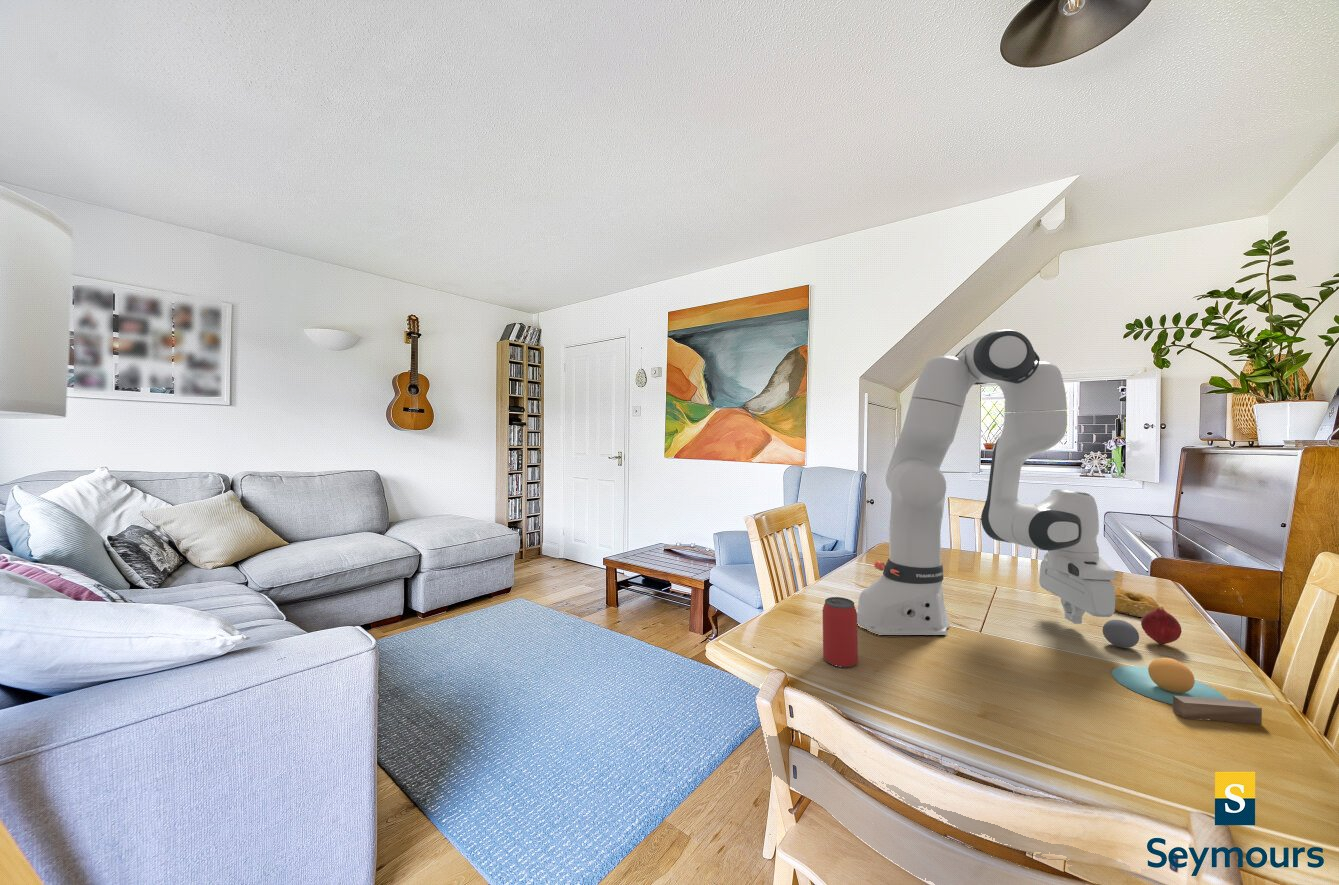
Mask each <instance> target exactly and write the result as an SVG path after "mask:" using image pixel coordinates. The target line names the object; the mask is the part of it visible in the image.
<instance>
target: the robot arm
mask: <svg viewBox="0 0 1339 885" xmlns="http://www.w3.org/2000/svg"><path fill="white" fill-rule="evenodd" d="M986 384H996V385H997V386H998V387H999V389H1000V390H1001V392H1002V395H1003V398H1004V421H1003V426H1002V427H1003V428H1002V431H1001V434H1000V436H999V438H998V439H997V440H996V441H995V443H994V446H993V450H992V451H993V452H992V457H991V464H990V472H989V478H988V486H987V487H988V488H987V495H986V500H985V502H984V505H983V508H982V511H981V515H980V522H981V526H982V528H983V530H984V532H985V534H986V535H987V536H988V537H989V538H991V539H992V540H993V541H994V540H995V541H1000V542H1005V543H1010V544H1011V543H1012V544H1015V545H1019V546H1023V547H1026V548H1031V549H1036V550H1039V551H1046V554H1044V555H1043V556H1044V557H1043V559H1042V560H1041V561H1040V565H1039V566H1040V567H1039V574H1038V575H1039V578H1038V581H1039V585H1040V587H1041V588H1042V589H1043V590H1045V591H1047V592H1048V593H1051V594H1053V595H1054V596H1056V597H1058V598H1059V599H1060V603H1061V607H1062V609H1063V611H1064V619H1066V620H1067V621H1069V622H1071V623H1072V624H1076V625H1081V624H1083V623H1082V622H1083V616H1084V614H1085V613H1087V614H1089V615H1091V616H1092V617H1097V618H1099V617H1100V618H1111V617H1112V616H1113V615H1114V613H1115V612H1116V611H1115V589H1116V588H1115V585H1114V583H1113V581H1115V580H1116V579H1117V572H1116V571H1115V569H1114V568H1112V567H1111V566H1110V565H1109V564H1108V563H1107V562H1106V561H1105V560H1104V559H1103V558H1102V557H1101V556H1100V549H1099V545H1098V543H1097V537H1098V534H1099V531H1100V529H1099V528H1100V527H1099V526H1100V523H1099V522H1100V520H1099V511H1098V506H1097V503H1096V499H1095V497H1094V496H1093V495H1091V494H1090V493H1087V492H1081V491H1076V490H1075V491H1074V490H1070V489H1069V490H1068V489H1062V488H1061V489H1060V488H1059V489H1053V490H1051V492H1050V494H1049V496H1047V498H1044V500H1041V501H1039V502H1037V503H1034V504H1027V503H1023V502H1020V501H1019V499H1018V494H1019V491H1018V490H1019V485H1020V477H1021V469H1022V466H1023V465H1024V464H1025V462H1026V461H1027V460H1029V459H1030V458H1031V457H1033V456H1035V455H1038V454H1041V453H1043V452H1045V451H1048V450H1050V449H1051V448H1053V447H1055V446H1056V445H1057V444H1058V443H1060V441H1061V440H1062V439H1063V438H1064V437H1065V434H1066V431H1067V426H1068V411H1067V410H1068V406H1067V405H1068V404H1067V395H1066V394H1067V393H1066V387H1065V383H1064V379H1063V376H1062V373H1061V370H1060V368H1059V367H1058V366H1057V365H1055V364H1053V363H1052V362H1051V363H1050V362H1047V361H1040V356H1039V355H1038V354H1037V352H1036V351H1035V349H1034V347H1033V345H1032V343H1031V341H1030V340H1029V338H1027V336H1025V335H1024V334H1023V333H1021V332H1019V331H1017V330H1013V329H999V330H994V331H992V332H989V333H988V334H987V333H986V334H984V335H980V336H979V337H977V338H975V339H974V340H972V341H971V342H969V343H968V344H966V345H965V346H964V347H963V348H962V349H960V350H959V351H958V353H956V355H954V356H951V355H941V356H935V357H933V358H930V359H929V360H928V361H927V362H925V364H924V366H923V369H922V370H921V373H920V374H919V376H918V378H917V380H916V383H915V386H914V388H913V391H912V395H911V398H910V401H909V405H908V408H907V411H906V415H905V419H904V422H903V426H902V429H901V432H900V434H899V438H898V440H897V442H896V444H895V447H894V450H893V453H892V456H891V459H890V460H889V464H888V468H887V471H886V474H885V484H886V486H887V489H888V490H889V492H891V494H890V495H891V498H890V499H891V500H890V502H891V503H890V505H891V506H890V515H889V516H890V518H889V525H888V545H889V546H888V547H889V548H888V551H889V552H888V554H889V555H888V556H889V558H888V559H887V560H886V563H884V562H882V561H880V560H876V561H875V562H874V563H873V567H874V568H875V569H876V570H879V571H881V572H882V575H881V576H880V577H878V578H877V579H876V580H874V582H871V584H870V585H869V586H867V587H866V588H864V589H863V590H862V591H861V592H860V595H859V598H858V604H857V608H855V609H856V612H857V623H858V624H859V625H860V626H862V627H864V628H866V629H867V630H870V631H872V632H874V633H877V634H881V635H945V636H947V635H946V634H948V633H947V629H948V628H950V627H951V623H950V621H949V618H948V615H947V611H946V605H945V600H944V594H943V581H944V566H943V563H942V559H941V558H942V548H941V547H942V546H941V545H942V544H941V543H942V542H941V541H942V540H941V537H942V536H941V534H942V524H943V515H944V511H945V510H944V508H945V499H946V498H945V497H946V493H947V492H946V491H947V481H946V478H945V475H944V473H943V472H942V471H941V469H940V468H941V466H942V464H943V462H944V460H945V457H946V455H947V453H948V450H949V449H950V447H951V445H952V444H953V443H954V441H955V437H956V433H957V429H958V426H959V423H960V419H961V416H962V413H963V409H964V406H965V403H966V399H967V398H966V397H967V395H968V394H969V391H970V390H971V388H972V387H973V386H974V385H986Z"/></svg>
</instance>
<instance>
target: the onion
mask: <svg viewBox="0 0 1339 885" xmlns="http://www.w3.org/2000/svg"><path fill="white" fill-rule="evenodd" d="M1140 622H1141V623H1140V626H1141V628H1142V629H1143V631H1144V633H1145V634H1146V635H1147V636H1148V637H1149V638H1150V639H1151V640H1153V641H1154V642H1155V643H1156V644H1158V645H1161V644H1163V645H1162V646H1164V645H1166V644H1169V643H1173V642H1175V641H1178V640H1179V638H1180V637H1181V634H1182V626H1181V624H1180V623H1179V621H1178V619H1177V618H1175V616H1173V614H1171V613H1169V612H1168V611H1166V610H1165V608H1164V607H1163V606H1162V605H1159V606H1158V607H1157V609H1156V610H1154V611H1151V612H1149V613H1147V614H1146V615H1145V616H1144V617H1143V618H1141V621H1140Z"/></svg>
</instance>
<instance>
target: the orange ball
mask: <svg viewBox="0 0 1339 885" xmlns="http://www.w3.org/2000/svg"><path fill="white" fill-rule="evenodd" d="M1147 668H1148V673H1149V676H1150V678H1151V679H1152V681H1153V682H1154V683H1155V684H1156V685H1158V686H1159V687H1160V688H1162V689H1164V690H1166V691H1169V692H1172V693H1185V692H1188V691H1190V690H1191V689H1192V688H1193V686H1194V683H1195V676H1194V674H1193V672H1192V671H1191V670H1190V668H1189V667H1188V666H1187V665H1185V664H1184V663H1183V662H1180V661H1179V660H1176V659H1174V658H1171V657H1170V658H1169V657H1160V658H1159V657H1158V658H1155V659H1154V660H1152V661H1151V662H1150V663H1149V664H1148V667H1147Z"/></svg>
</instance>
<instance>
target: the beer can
mask: <svg viewBox="0 0 1339 885" xmlns="http://www.w3.org/2000/svg"><path fill="white" fill-rule="evenodd" d="M856 609H857V608H856V607H855V601H853V600H852V599H850V598H846V597H841V596H830V597H826V599H824V604H823V607H822V657H823V659H824V660H826V661H827V663H828V662H829V663H831V664H833V665H837V666H841V667H840V668H843V667H845V668H851V667H850V666H852V667H854V666H856V664H857V663H858V662H859V656H858V655H859V652H858V651H859V649H858V642H859V640H858V635H859V634H858V625H857V612H856ZM826 661H825V662H826ZM829 663H828V664H829ZM831 664H830V665H831ZM833 665H832V666H833ZM837 666H836V667H837Z"/></svg>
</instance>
